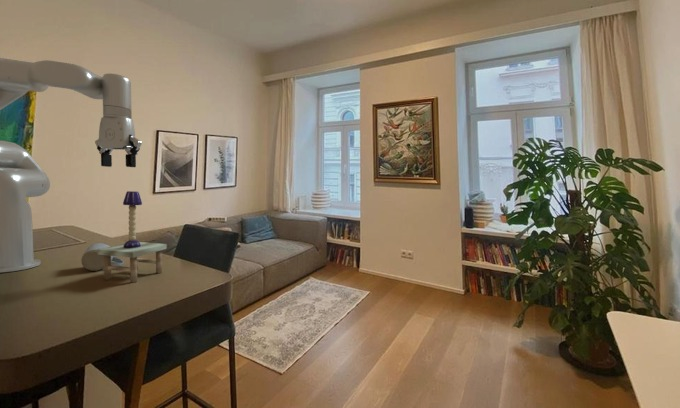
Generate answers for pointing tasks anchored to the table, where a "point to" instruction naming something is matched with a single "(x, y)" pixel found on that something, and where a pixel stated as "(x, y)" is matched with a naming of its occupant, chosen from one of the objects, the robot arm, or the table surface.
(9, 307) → the table surface
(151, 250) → the footstool
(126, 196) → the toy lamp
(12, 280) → the table surface
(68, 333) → the table surface
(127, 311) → the table surface
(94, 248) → the ceramic mug
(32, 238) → the robot arm
